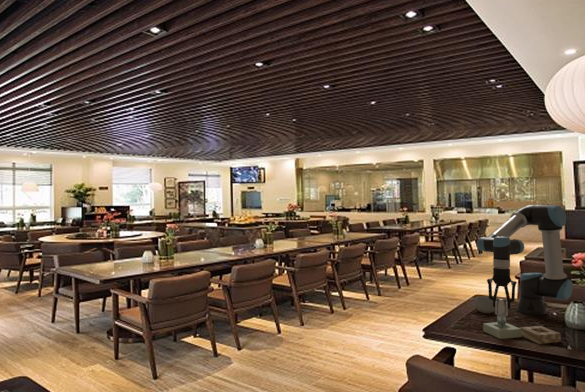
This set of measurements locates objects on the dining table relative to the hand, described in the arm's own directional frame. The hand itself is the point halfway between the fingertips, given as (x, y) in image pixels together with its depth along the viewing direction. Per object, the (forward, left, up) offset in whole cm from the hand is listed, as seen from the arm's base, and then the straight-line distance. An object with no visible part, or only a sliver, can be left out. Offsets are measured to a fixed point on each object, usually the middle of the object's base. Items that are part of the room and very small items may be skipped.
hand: (501, 314), depth 208 cm
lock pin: (0, 0, -5) cm, 5 cm away
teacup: (-18, -38, -10) cm, 43 cm away
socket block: (0, 0, -10) cm, 10 cm away
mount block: (-13, +10, -10) cm, 19 cm away
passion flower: (-66, -49, -10) cm, 83 cm away
